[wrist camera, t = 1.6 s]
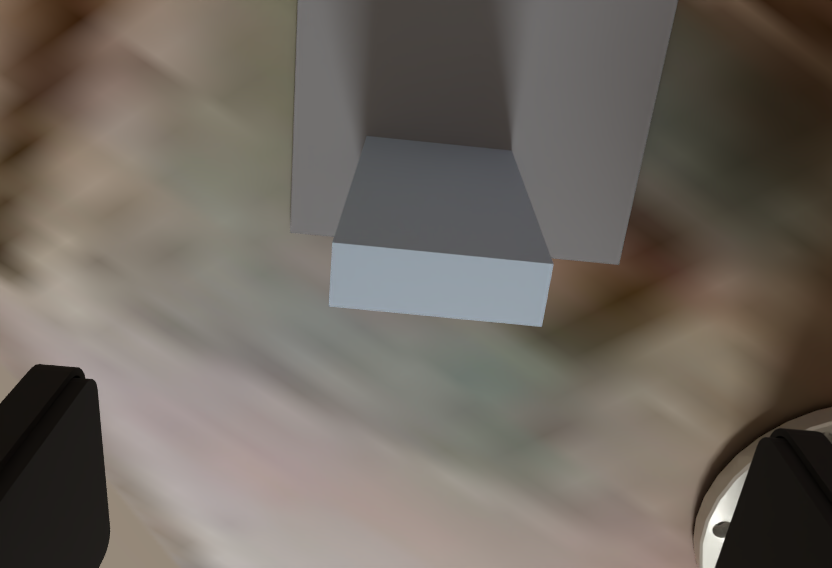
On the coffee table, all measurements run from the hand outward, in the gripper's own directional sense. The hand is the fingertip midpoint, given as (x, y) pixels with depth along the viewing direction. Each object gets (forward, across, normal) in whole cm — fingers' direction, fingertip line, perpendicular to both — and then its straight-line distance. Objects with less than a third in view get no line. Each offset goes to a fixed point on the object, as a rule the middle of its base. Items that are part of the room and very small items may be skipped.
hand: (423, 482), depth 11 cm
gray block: (+17, 0, 0) cm, 17 cm away
